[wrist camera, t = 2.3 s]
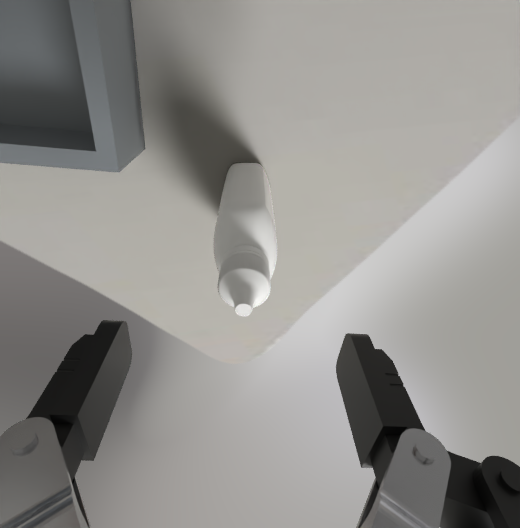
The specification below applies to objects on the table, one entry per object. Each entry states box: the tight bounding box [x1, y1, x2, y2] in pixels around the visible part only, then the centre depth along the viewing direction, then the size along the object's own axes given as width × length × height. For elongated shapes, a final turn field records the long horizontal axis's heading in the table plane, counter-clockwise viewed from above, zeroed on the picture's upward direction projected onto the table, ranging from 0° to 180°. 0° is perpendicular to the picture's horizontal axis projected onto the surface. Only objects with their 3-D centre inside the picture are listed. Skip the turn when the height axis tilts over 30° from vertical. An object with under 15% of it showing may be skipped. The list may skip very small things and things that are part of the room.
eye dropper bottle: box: [214, 163, 277, 316], centre depth 18 cm, size 4×6×12 cm
